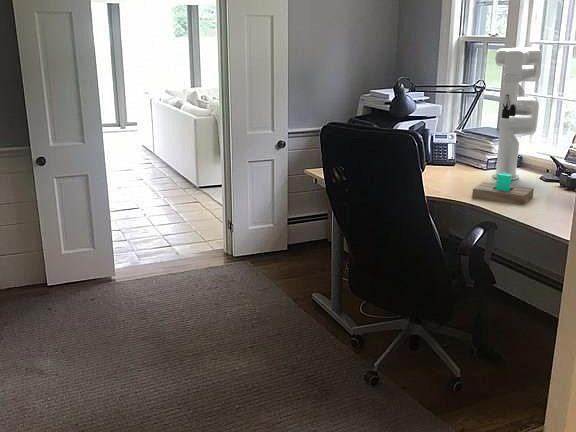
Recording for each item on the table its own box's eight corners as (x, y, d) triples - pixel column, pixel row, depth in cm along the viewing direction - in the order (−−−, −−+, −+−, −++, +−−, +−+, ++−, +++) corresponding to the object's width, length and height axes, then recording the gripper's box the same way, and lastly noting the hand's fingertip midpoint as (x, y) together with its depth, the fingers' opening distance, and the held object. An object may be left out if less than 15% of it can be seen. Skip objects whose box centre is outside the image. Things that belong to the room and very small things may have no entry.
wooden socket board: (483, 190, 282) (484, 181, 281) (532, 197, 270) (533, 188, 269) (472, 197, 270) (472, 188, 269) (523, 204, 258) (524, 195, 257)
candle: (499, 199, 267) (502, 172, 263) (492, 195, 272) (494, 169, 269) (511, 198, 268) (514, 171, 265) (504, 195, 274) (507, 169, 270)
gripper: (509, 77, 280) (505, 114, 285) (498, 79, 266) (494, 118, 271) (526, 77, 276) (521, 115, 281) (515, 80, 262) (511, 119, 267)
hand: (508, 117), depth 276 cm, fingers open, 9 cm apart
